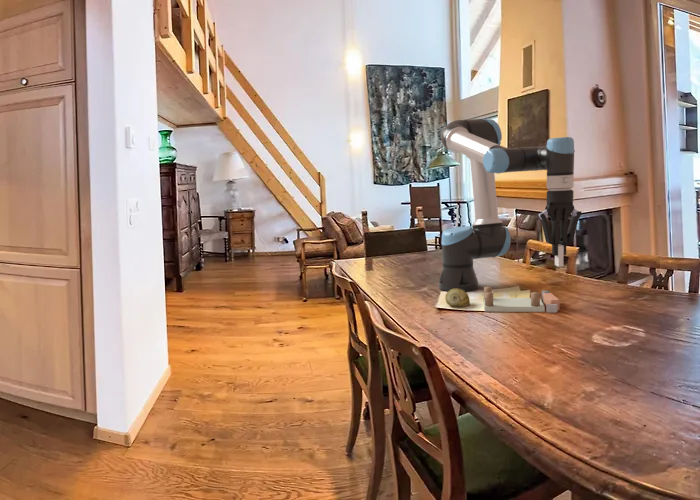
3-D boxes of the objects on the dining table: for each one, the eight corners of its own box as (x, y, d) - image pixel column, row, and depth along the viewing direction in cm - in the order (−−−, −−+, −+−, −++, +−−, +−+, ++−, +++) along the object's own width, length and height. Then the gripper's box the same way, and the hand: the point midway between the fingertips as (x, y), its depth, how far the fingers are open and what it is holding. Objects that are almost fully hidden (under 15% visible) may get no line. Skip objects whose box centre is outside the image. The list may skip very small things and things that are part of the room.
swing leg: (540, 301, 162) (540, 290, 161) (548, 300, 162) (548, 290, 161) (551, 310, 151) (551, 299, 150) (559, 310, 150) (559, 299, 150)
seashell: (457, 313, 169) (442, 295, 171) (473, 300, 168) (458, 282, 169) (457, 316, 160) (441, 297, 161) (473, 302, 159) (457, 283, 160)
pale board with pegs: (484, 312, 154) (484, 295, 153) (483, 302, 165) (483, 286, 165) (557, 312, 149) (557, 294, 148) (550, 302, 160) (550, 286, 159)
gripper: (543, 191, 143) (543, 269, 147) (587, 188, 143) (585, 266, 147) (533, 190, 150) (533, 264, 154) (575, 187, 151) (573, 262, 155)
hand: (559, 265), depth 151 cm, fingers closed
